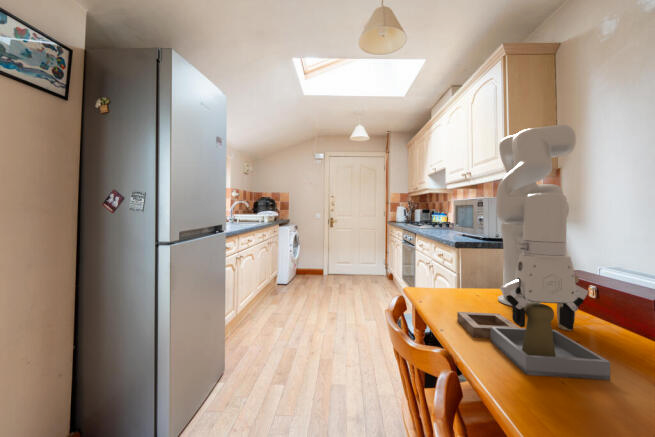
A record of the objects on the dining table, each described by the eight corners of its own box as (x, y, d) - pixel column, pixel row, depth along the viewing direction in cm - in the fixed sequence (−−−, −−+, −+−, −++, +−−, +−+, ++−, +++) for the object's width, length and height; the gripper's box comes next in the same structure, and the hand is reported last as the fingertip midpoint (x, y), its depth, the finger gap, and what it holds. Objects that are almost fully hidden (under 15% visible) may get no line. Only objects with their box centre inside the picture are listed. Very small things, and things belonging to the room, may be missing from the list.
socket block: (457, 320, 83) (457, 311, 83) (499, 322, 82) (499, 313, 82) (473, 337, 72) (473, 327, 72) (522, 339, 70) (522, 329, 70)
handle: (558, 331, 76) (559, 276, 75) (551, 323, 81) (552, 272, 81) (581, 335, 73) (582, 278, 73) (572, 326, 79) (573, 274, 79)
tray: (490, 340, 70) (490, 326, 70) (555, 344, 68) (555, 329, 68) (525, 374, 55) (526, 356, 55) (610, 380, 53) (610, 362, 53)
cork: (562, 362, 58) (563, 309, 58) (530, 358, 59) (530, 307, 59) (546, 348, 64) (547, 301, 64) (517, 345, 65) (517, 299, 65)
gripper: (511, 250, 58) (509, 331, 59) (601, 252, 57) (600, 335, 57) (493, 246, 66) (492, 317, 66) (573, 247, 64) (572, 321, 64)
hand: (542, 325), depth 62 cm, fingers open, 9 cm apart
